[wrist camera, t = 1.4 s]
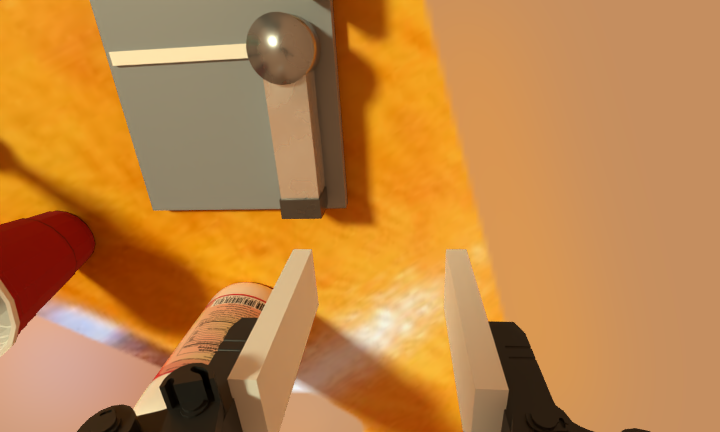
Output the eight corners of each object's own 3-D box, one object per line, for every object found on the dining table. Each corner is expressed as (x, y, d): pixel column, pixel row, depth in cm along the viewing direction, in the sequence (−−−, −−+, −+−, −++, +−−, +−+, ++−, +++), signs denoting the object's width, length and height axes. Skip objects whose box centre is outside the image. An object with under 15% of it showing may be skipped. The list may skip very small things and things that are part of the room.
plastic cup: (94, 179, 37) (-36, 240, 26) (134, 276, 41) (37, 363, 30) (-5, 187, 38) (-168, 247, 27) (43, 280, 42) (-80, 363, 32)
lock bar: (257, 16, 28) (240, 14, 25) (318, 12, 27) (308, 9, 24) (285, 204, 34) (274, 219, 31) (335, 203, 33) (328, 219, 30)
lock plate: (57, -150, 26) (-15, -188, 22) (318, -183, 24) (299, -233, 20) (160, 205, 37) (126, 228, 32) (347, 202, 35) (339, 227, 30)
